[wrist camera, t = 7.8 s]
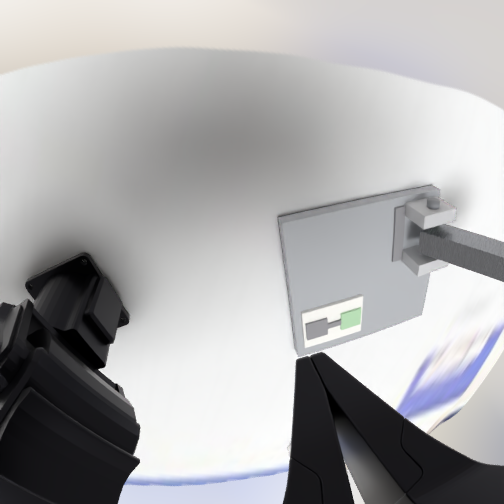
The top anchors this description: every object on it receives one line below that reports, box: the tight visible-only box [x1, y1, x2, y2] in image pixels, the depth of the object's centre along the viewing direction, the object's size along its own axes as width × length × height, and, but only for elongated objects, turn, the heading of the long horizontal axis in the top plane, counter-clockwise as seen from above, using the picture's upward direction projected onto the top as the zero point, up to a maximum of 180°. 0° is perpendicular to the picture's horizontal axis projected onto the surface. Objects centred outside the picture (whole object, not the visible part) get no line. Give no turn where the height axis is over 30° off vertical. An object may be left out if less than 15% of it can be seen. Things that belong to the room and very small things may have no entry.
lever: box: [418, 224, 504, 282], centre depth 18 cm, size 3×3×10 cm
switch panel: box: [278, 185, 457, 357], centre depth 23 cm, size 13×13×4 cm
